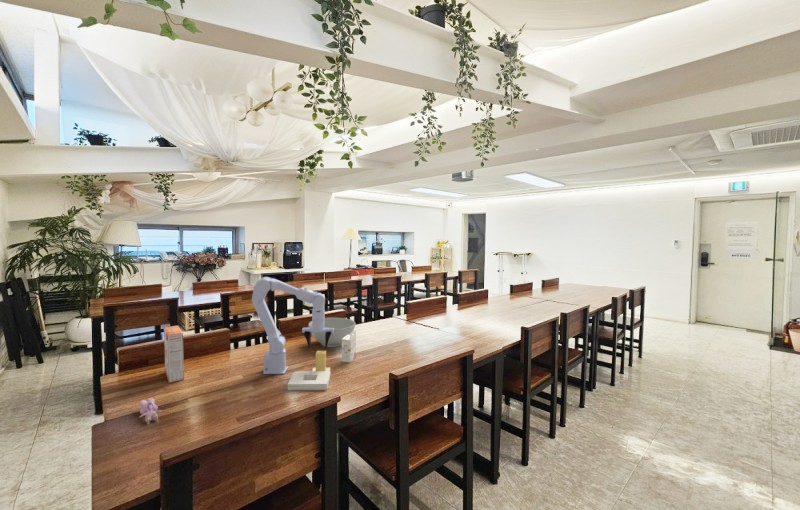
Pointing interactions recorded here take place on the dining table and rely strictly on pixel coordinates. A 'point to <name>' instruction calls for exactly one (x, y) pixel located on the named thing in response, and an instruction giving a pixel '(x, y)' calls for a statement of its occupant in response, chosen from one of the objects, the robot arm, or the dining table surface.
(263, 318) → the robot arm
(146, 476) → the dining table surface
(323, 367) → the block
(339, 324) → the decorative bowl
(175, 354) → the cracker box
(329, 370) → the mat
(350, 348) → the ink cartridge box
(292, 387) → the holder
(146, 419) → the pink toy figurine
